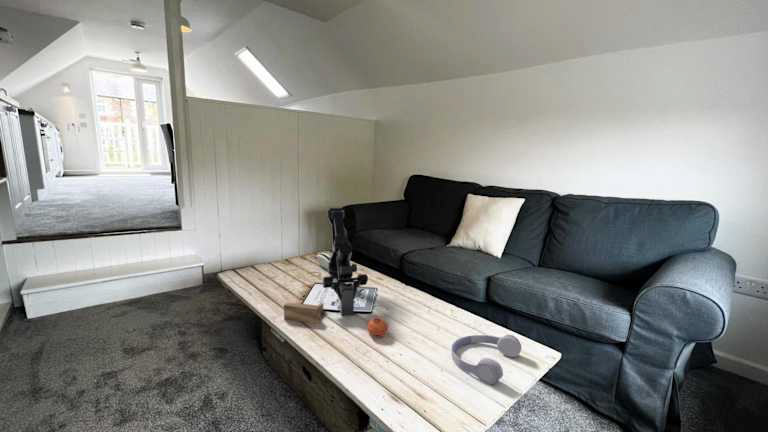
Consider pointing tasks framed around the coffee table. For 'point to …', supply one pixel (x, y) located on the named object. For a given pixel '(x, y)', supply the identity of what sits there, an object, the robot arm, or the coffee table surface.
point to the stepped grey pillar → (347, 299)
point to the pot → (377, 327)
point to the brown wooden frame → (303, 312)
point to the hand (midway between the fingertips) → (347, 299)
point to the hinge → (323, 260)
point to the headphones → (487, 367)
